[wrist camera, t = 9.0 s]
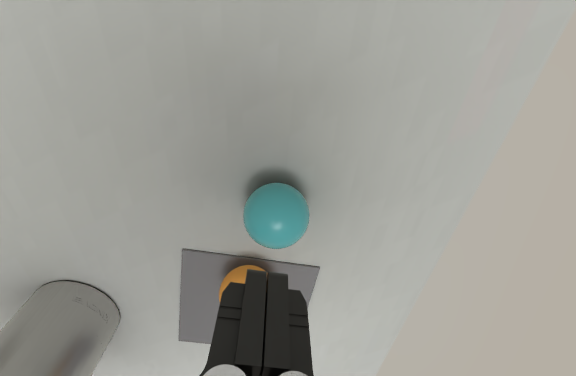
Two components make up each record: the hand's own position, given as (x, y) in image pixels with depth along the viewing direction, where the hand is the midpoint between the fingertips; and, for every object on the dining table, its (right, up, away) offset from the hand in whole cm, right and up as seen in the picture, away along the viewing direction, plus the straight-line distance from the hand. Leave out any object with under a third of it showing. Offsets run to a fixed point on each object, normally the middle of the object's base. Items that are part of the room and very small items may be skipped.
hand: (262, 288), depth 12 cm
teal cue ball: (0, +1, +15) cm, 15 cm away
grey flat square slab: (-4, -9, +24) cm, 26 cm away
